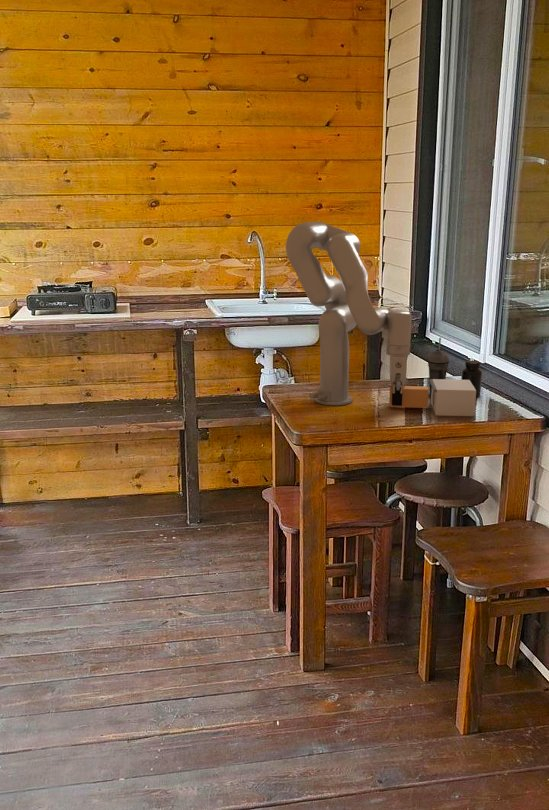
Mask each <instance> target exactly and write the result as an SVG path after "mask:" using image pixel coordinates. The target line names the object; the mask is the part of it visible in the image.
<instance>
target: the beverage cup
mask: <svg viewBox="0 0 549 810" xmlns="http://www.w3.org/2000/svg"><path fill="white" fill-rule="evenodd" d="M441 342H442V337H439V338H438V349H435V350H433V351H431V353H430V354H429V355H428V357H427V358H428V360H427V365H428V375H429V376H428V380H429V381H428V382H429V385H428V386H429V387H428V388H429V395H431V394H432V386H431V383H430V379H447V371H448V367H449V363H450V361H449V356H448V354H447V352H446V351H444V350H443V349H441Z"/></svg>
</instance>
